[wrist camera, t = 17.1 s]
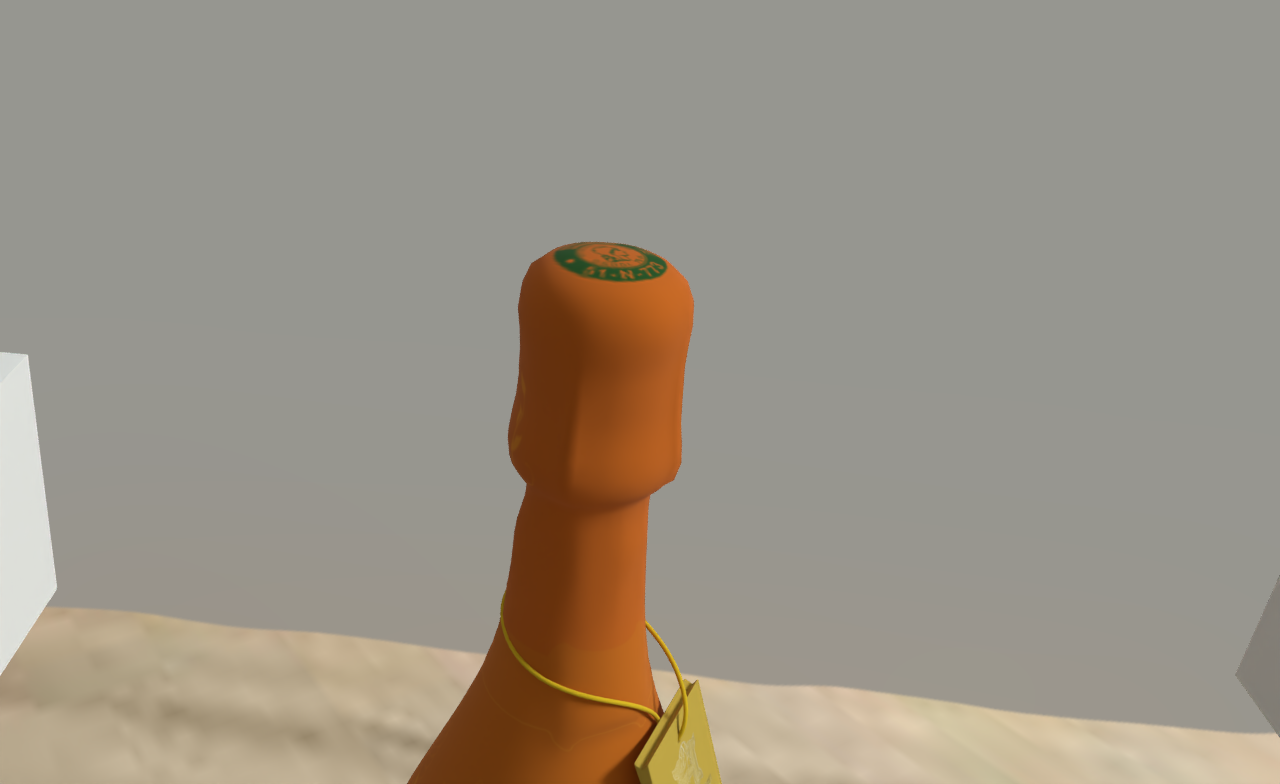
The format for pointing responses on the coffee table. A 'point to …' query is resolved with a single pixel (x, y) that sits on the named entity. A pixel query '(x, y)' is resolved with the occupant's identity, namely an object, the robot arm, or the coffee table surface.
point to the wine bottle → (585, 539)
